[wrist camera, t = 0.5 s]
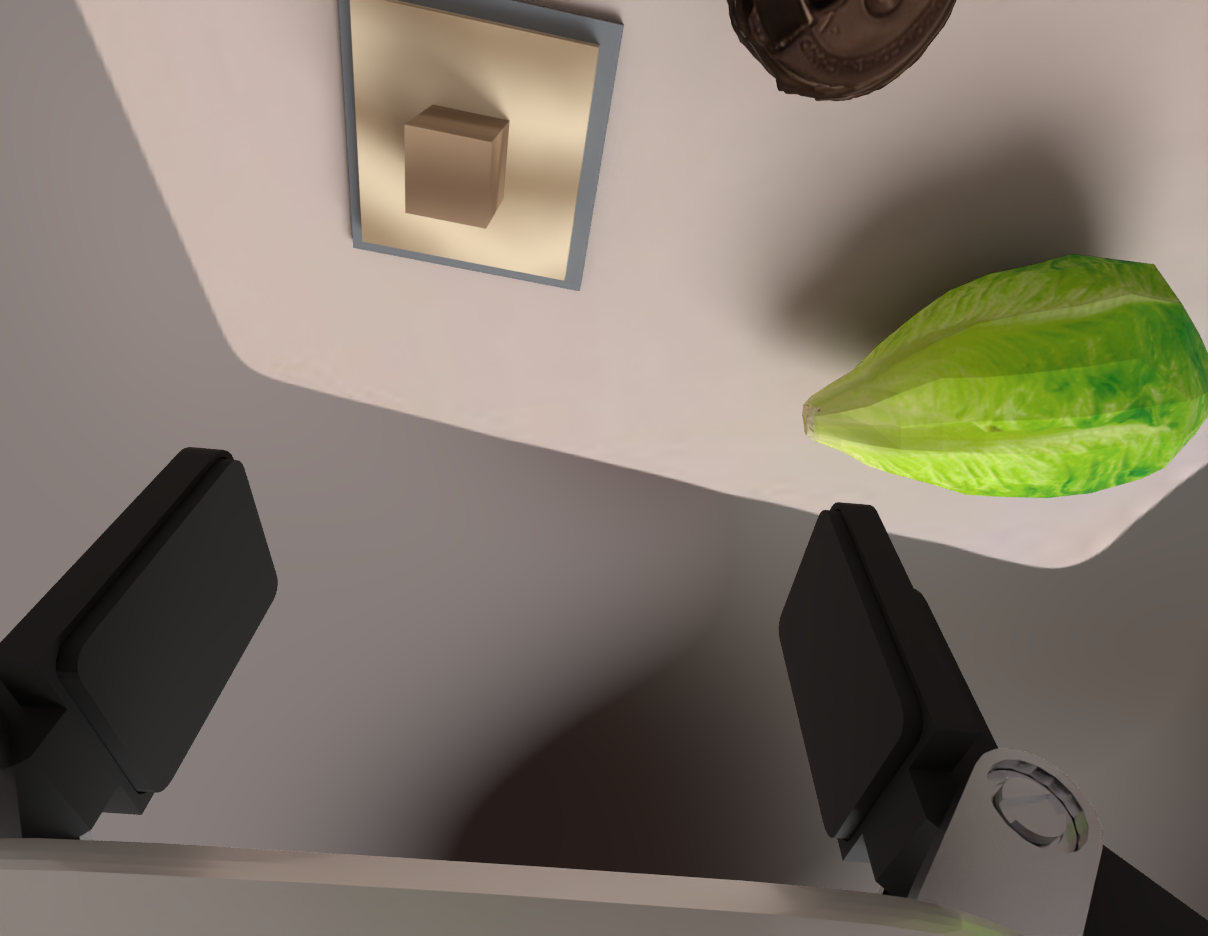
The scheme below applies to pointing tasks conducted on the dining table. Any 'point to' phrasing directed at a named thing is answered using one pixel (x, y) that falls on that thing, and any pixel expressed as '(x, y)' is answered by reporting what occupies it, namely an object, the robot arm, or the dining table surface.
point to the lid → (469, 135)
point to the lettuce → (1027, 384)
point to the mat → (501, 6)
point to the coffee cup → (837, 41)
